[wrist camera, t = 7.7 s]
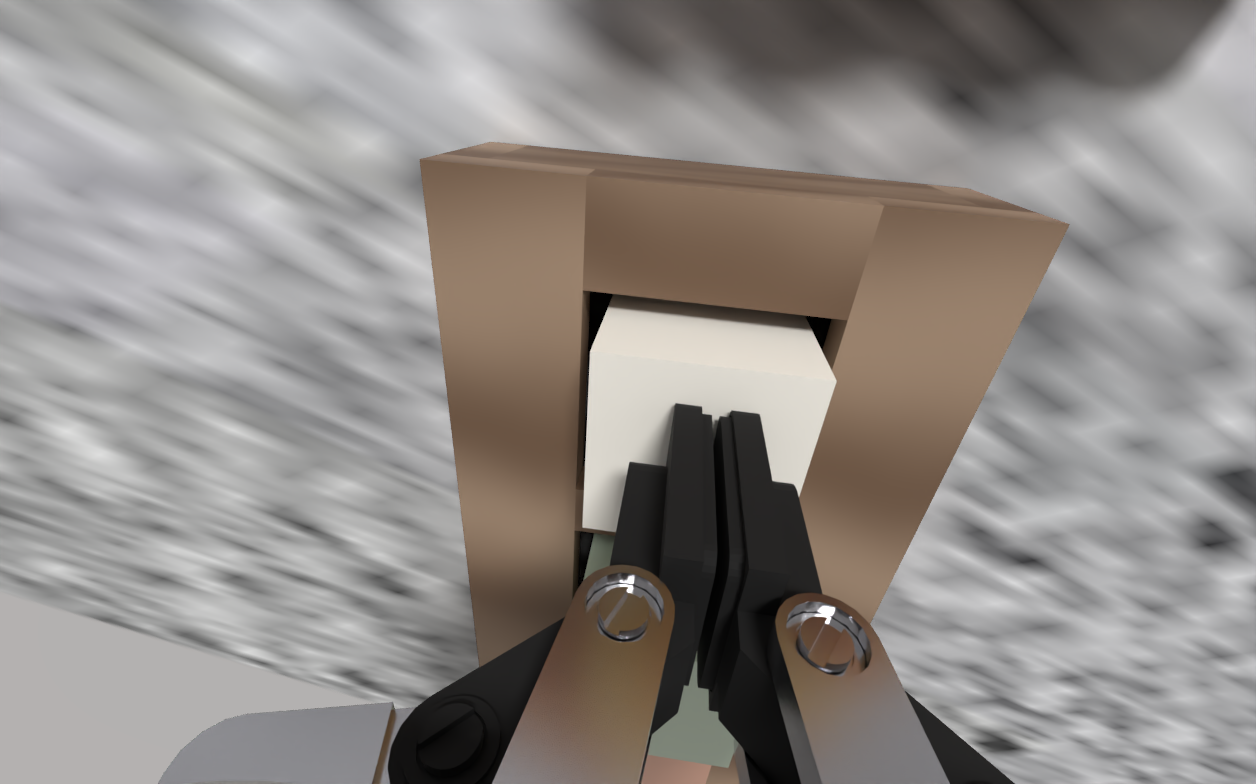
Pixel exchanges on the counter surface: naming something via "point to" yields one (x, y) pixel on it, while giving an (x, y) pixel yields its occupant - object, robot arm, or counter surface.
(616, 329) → the cream cube
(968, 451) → the counter surface
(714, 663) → the robot arm
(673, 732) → the sage key
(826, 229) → the wooden compartment tray
